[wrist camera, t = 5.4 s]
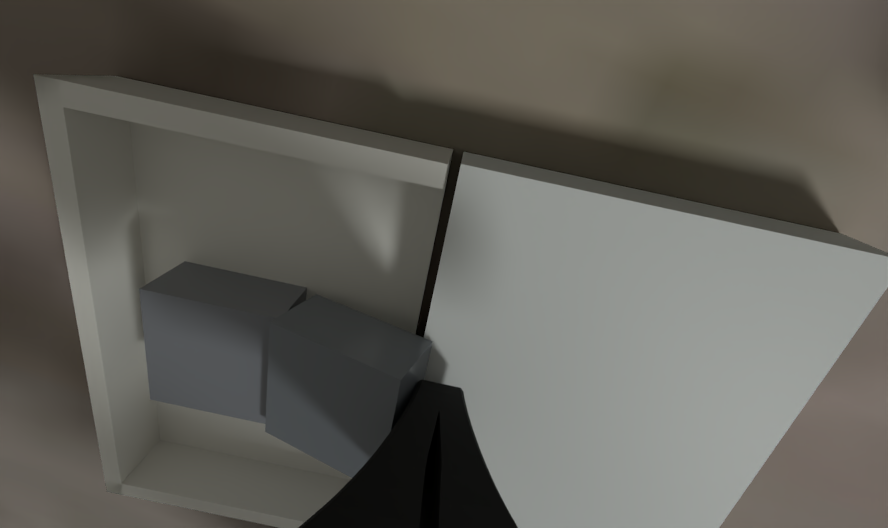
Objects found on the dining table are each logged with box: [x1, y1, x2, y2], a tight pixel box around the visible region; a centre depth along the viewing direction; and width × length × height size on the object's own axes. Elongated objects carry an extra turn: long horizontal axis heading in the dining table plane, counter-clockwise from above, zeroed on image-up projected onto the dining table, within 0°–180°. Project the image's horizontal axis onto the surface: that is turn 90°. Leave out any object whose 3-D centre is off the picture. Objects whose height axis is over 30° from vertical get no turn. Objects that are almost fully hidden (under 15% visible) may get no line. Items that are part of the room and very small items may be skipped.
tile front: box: [265, 294, 433, 478], centre depth 13 cm, size 4×4×2 cm
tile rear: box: [139, 261, 307, 424], centre depth 14 cm, size 4×4×2 cm
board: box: [424, 152, 888, 528], centre depth 14 cm, size 14×11×2 cm
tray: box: [33, 74, 453, 528], centre depth 14 cm, size 14×10×2 cm
